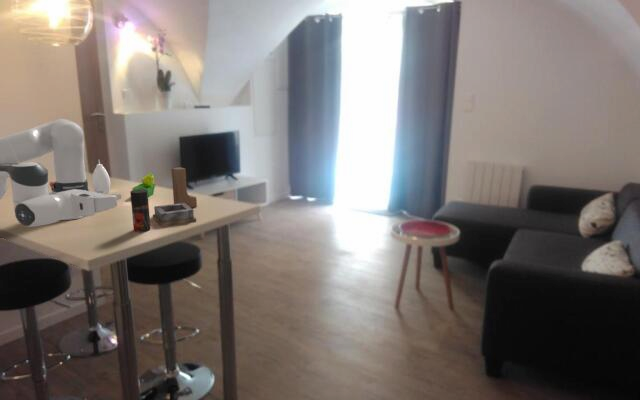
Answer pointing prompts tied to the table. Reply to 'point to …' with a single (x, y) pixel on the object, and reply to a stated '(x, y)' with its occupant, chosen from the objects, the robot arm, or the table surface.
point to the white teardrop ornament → (101, 179)
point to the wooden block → (181, 188)
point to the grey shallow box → (173, 214)
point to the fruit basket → (147, 184)
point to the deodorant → (140, 210)
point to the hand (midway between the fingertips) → (110, 194)
